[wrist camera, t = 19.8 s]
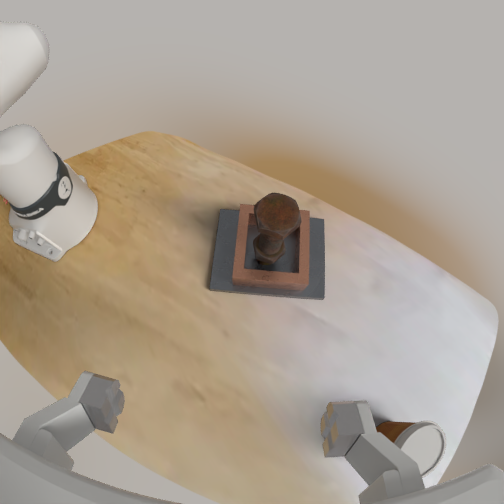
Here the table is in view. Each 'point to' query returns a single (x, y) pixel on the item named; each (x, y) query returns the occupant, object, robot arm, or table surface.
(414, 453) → the disposable coffee cup
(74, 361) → the table surface
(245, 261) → the socket
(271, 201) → the bolt
